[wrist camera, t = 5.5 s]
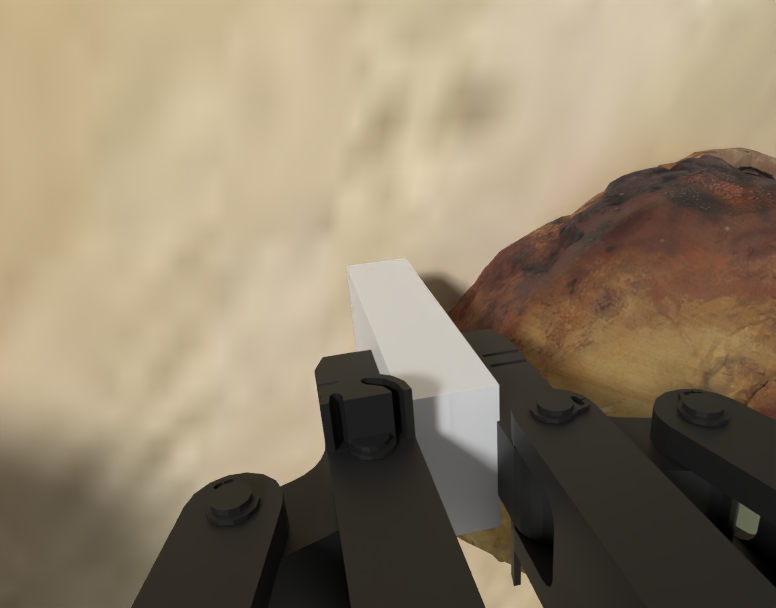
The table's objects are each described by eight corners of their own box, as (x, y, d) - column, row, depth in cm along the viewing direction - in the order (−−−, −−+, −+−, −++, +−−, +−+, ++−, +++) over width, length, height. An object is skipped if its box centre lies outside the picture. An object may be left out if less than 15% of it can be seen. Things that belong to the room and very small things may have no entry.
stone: (494, 540, 21) (560, 669, 17) (322, 389, 18) (344, 500, 13) (824, 265, 20) (998, 322, 15) (709, 42, 16) (891, 26, 12)
